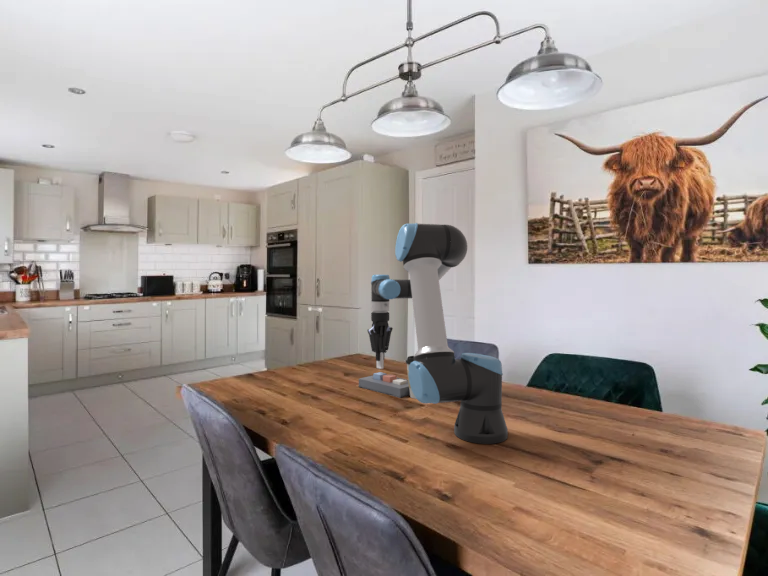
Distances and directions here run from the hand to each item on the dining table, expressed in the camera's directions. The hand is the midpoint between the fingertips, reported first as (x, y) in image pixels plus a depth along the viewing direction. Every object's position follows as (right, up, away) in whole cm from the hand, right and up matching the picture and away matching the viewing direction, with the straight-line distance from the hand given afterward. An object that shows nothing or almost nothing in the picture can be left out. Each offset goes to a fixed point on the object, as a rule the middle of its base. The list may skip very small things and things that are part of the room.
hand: (380, 368), depth 179 cm
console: (+4, -8, -4) cm, 10 cm away
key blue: (0, -5, 0) cm, 5 cm away
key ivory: (+8, -6, -8) cm, 12 cm away
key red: (+4, -5, -4) cm, 7 cm away
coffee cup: (+15, -8, -15) cm, 22 cm away
